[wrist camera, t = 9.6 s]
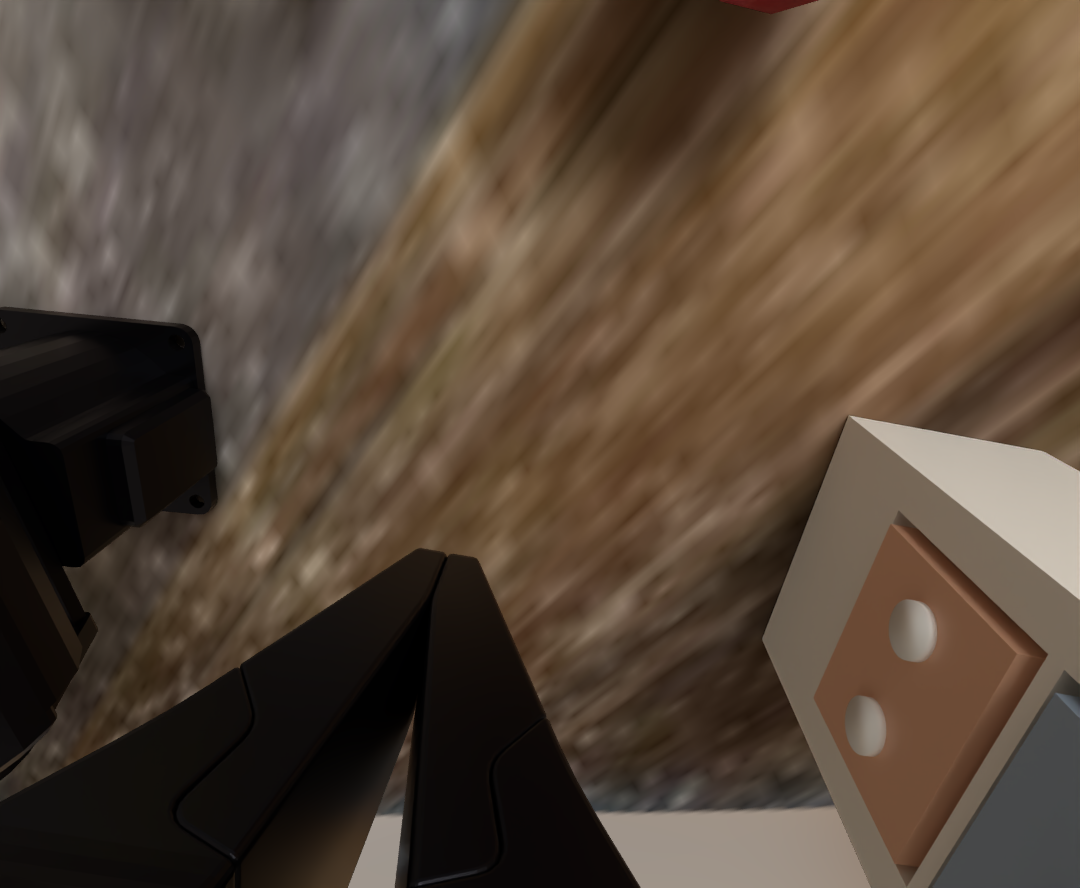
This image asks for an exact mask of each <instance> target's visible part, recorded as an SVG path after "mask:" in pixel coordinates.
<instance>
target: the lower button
mask: <svg viewBox="0 0 1080 888" xmlns="http://www.w3.org/2000/svg"><path fill="white" fill-rule="evenodd" d="M1047 656H1048V654H1047V653H1046V652H1045V651H1044V650H1043V649H1042V648H1041V647H1040V646H1039V645H1038V644H1037V643H1036V642H1035V641H1034V640H1033V639H1032V638H1031V637H1030V636H1029V635H1028V634H1027V633H1026V632H1025V631H1024V630H1023V629H1022V628H1020V627H1019V626H1018V625H1017V624H1016V623H1015V622H1014V621H1013V620H1012V619H1011V618H1010V617H1009V616H1008V615H1007V614H1006V613H1005V612H1004V611H1003V610H1002V609H1001V608H1000V607H999V606H998V605H997V604H996V603H994V602H993V601H992V600H991V599H990V598H989V597H988V596H987V595H986V594H985V593H984V592H983V591H982V590H981V589H980V588H979V587H978V586H977V585H976V584H975V583H974V582H973V581H972V580H971V579H970V578H968V577H967V576H966V575H965V574H964V573H963V572H962V571H961V570H960V569H959V568H958V567H957V566H956V565H955V564H954V563H953V562H952V561H951V560H950V559H949V558H948V557H947V556H946V555H945V554H944V553H942V552H941V551H940V550H939V549H938V548H937V547H936V546H935V545H934V544H933V543H932V542H931V541H930V540H929V539H928V538H927V537H926V536H925V535H924V534H923V533H922V532H921V531H920V530H919V529H916V528H911V527H905V526H899V525H894V524H890V526H889V529H888V531H887V533H886V535H885V538H884V540H883V542H882V544H881V547H880V549H879V551H878V553H877V556H876V558H875V560H874V562H873V565H872V567H871V569H870V571H869V574H868V576H867V578H866V580H865V583H864V585H863V587H862V589H861V592H860V594H859V596H858V598H857V601H856V603H855V605H854V607H853V610H852V612H851V614H850V616H849V618H848V621H847V623H846V625H845V627H844V630H843V632H842V634H841V636H840V639H839V641H838V643H837V645H836V648H835V650H834V652H833V654H832V657H831V659H830V661H829V663H828V666H827V668H826V670H825V672H824V675H823V677H822V679H821V681H820V684H819V686H818V688H817V690H816V693H815V695H814V697H813V698H814V700H815V702H816V704H817V706H818V708H819V710H820V712H821V715H822V717H823V719H824V721H825V723H826V725H827V727H828V729H829V731H830V733H831V735H832V737H833V739H834V741H835V743H836V745H837V747H838V749H839V751H840V753H841V755H842V757H843V759H844V761H845V764H846V766H847V768H848V770H849V772H850V774H851V776H852V778H853V780H854V782H855V784H856V786H857V788H858V790H859V792H860V794H861V796H862V798H863V800H864V802H865V804H866V806H867V808H868V810H869V812H870V815H871V817H872V819H873V821H874V823H875V825H876V827H877V829H878V831H879V833H880V835H881V837H882V839H883V841H884V843H885V845H886V847H887V849H888V851H889V853H890V855H891V857H892V859H893V861H894V864H900V865H906V866H913V867H919V866H920V865H921V863H922V861H923V860H924V858H925V856H926V855H927V853H928V852H929V850H930V848H931V847H932V845H933V843H934V842H935V840H936V838H937V837H938V835H939V833H940V832H941V830H942V828H943V827H944V825H945V824H946V822H947V820H948V819H949V817H950V815H951V814H952V812H953V810H954V809H955V807H956V805H957V804H958V802H959V801H960V799H961V797H962V796H963V794H964V792H965V791H966V789H967V787H968V786H969V784H970V782H971V781H972V779H973V777H974V776H975V774H976V773H977V771H978V769H979V768H980V766H981V764H982V763H983V761H984V759H985V758H986V756H987V754H988V753H989V751H990V750H991V748H992V746H993V745H994V743H995V741H996V740H997V738H998V736H999V735H1000V733H1001V731H1002V730H1003V728H1004V726H1005V725H1006V723H1007V722H1008V720H1009V718H1010V717H1011V715H1012V713H1013V712H1014V710H1015V708H1016V707H1017V705H1018V703H1019V702H1020V700H1021V699H1022V697H1023V695H1024V694H1025V692H1026V690H1027V689H1028V687H1029V685H1030V684H1031V682H1032V680H1033V679H1034V677H1035V675H1036V674H1037V672H1038V671H1039V669H1040V667H1041V666H1042V664H1043V662H1044V661H1045V659H1046V657H1047Z"/></svg>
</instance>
